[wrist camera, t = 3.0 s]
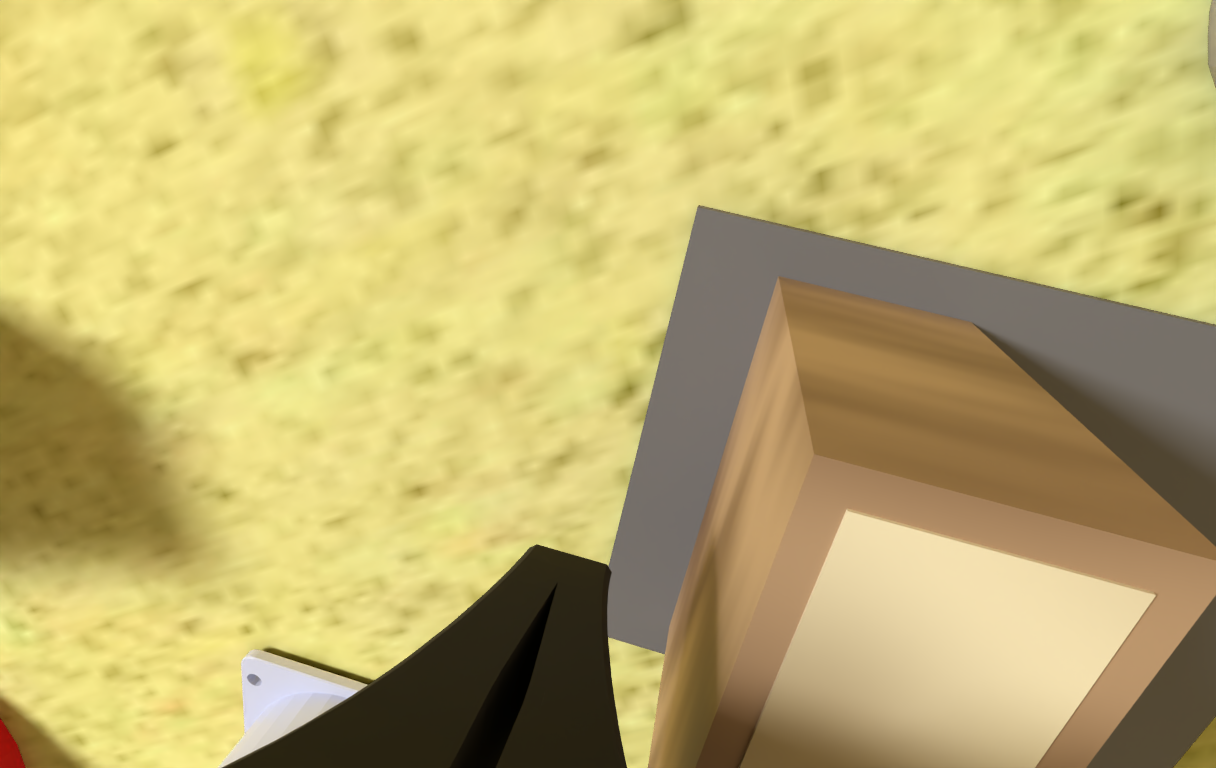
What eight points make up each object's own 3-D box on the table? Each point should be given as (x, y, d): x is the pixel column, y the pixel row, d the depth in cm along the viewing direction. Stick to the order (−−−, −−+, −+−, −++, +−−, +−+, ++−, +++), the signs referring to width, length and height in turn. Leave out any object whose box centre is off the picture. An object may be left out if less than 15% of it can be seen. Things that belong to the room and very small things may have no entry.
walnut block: (814, 670, 17) (863, 1068, 10) (669, 626, 18) (616, 980, 11) (971, 322, 13) (1241, 569, 6) (778, 276, 14) (814, 456, 6)
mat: (1139, 789, 17) (1145, 799, 17) (594, 624, 19) (592, 632, 18) (1471, 384, 12) (1487, 389, 12) (698, 205, 14) (697, 207, 14)
